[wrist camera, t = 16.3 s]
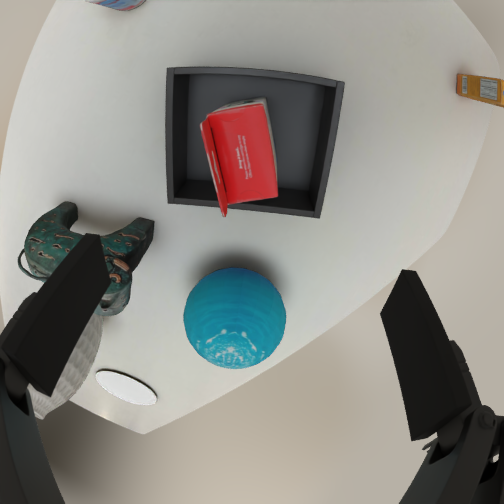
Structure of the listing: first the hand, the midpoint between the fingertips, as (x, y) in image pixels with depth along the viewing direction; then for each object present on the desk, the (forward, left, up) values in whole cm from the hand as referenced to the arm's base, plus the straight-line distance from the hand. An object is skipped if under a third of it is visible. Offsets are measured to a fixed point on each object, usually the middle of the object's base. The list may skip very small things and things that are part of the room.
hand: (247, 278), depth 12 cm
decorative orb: (+2, +24, -27) cm, 36 cm away
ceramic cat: (+24, +14, -27) cm, 39 cm away
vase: (+34, +35, -27) cm, 56 cm away
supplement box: (-27, -14, -27) cm, 40 cm away
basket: (+2, -1, -27) cm, 27 cm away
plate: (+35, +73, -27) cm, 86 cm away
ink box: (+1, -1, -26) cm, 26 cm away
